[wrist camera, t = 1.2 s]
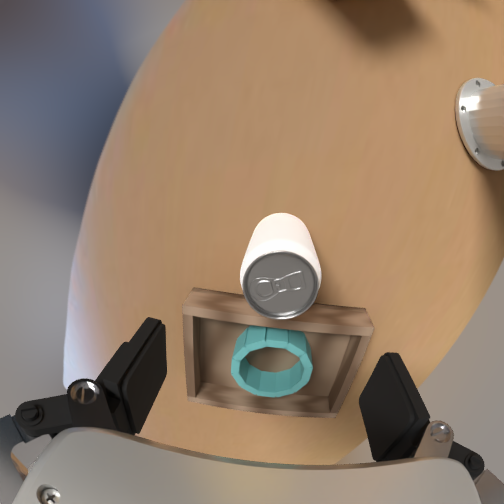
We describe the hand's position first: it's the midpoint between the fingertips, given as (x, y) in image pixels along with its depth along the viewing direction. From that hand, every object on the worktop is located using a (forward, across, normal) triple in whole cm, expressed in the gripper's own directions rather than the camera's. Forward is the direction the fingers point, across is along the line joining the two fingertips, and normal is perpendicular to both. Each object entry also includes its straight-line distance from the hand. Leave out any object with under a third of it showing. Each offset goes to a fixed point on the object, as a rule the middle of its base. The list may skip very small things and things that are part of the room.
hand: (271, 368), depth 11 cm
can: (+22, -1, +1) cm, 22 cm away
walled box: (+22, -3, +16) cm, 28 cm away
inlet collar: (+21, -3, +16) cm, 26 cm away
